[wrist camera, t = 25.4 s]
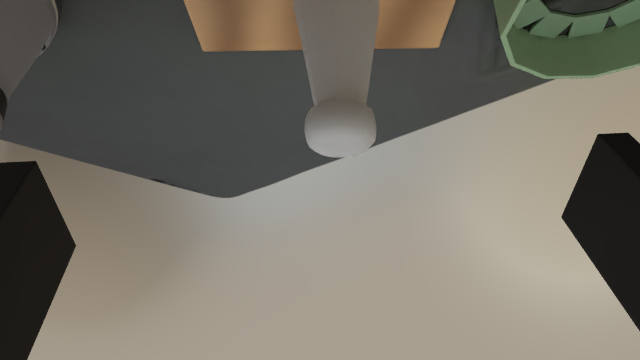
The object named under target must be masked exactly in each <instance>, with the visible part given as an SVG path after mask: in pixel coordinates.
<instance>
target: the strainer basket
mask: <svg viewBox="0 0 640 360" xmlns="http://www.w3.org/2000/svg"><path fill="white" fill-rule="evenodd" d="M494 6H495V11H496V17H497V22H498V28H499V33H500V38H501V41H502V43H503V46H504V49H505V52H506V55H507V57H508V60H509V63H510V65H511V66H514V67H516V68H519V69H521V70H523V71H526V72H528V73H531V74H533V75H536V76H538V77H540V78H543V79H563V78H594V77H599V76H602V75H606V74H610V73H614V72H618V71H622V70H626V69H629V68H633V67H637V66H640V0H628V1H626V2H623V3H621V4H619V5H617V6H615V7H612V8H610V9H607V10H601V11H596V12H590V13H584V14H578V15H572V14H567V13H562V12H557V11H552V10H549V9H548V7H547V6H546V5H545V4H544V2H543V1H542V0H494ZM609 16H610V17H611V18H612V20H613V21H614V23H615V24H616V25H614V26H611V27H608V28H604V27H605V25H606V22H607V20H608V18H609ZM537 20H538V21H537ZM535 21H537V22H536V23H535V24H534V25H532V26H531V27H530V28H529V29H528V30H525V29H523V28H522V27H524V26H526V25H528V24H531V23H533V22H535ZM570 24H571V25H570ZM569 25H570V28H569V31H568V34H567V35H559V34H560V33H561V32H562V31H563V30H564V29H565V28H567V27H568V26H569Z"/></svg>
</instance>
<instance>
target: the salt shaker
mask: <svg viewBox="0 0 640 360" xmlns="http://www.w3.org/2000/svg"><path fill="white" fill-rule="evenodd" d="M293 8H294V12H295V17H296V21H297V25H298V30H299V34H300V39H301V43H302V47H303V52H304V57H305V62H306V67H307V72H308V77H309V82H310V87H311V92H312V97H313V102H314V107H312V108H311V109H310V110H309V112H308V114H307V116H306V119H305V129H304V131H305V136H306V140H307V143H308V145H309V147H310V148H311V149H313V150H314V151H315V152H317V153H319V154H321V155H324V156H329V157H349V156H355V155H358V154H360V153H363V152H365V151H366V150H367V149H368V148H369V147H370V146H371V145H372V144H373V143H374V142H375V139H376V123H375V116H374V113H373V111H372V109H371V108H370V107H368V106H367V105H366V102H367V95H368V88H369V81H370V74H371V67H372V60H373V53H374V45H375V38H376V31H377V24H378V17H379V10H380V5H379V0H294V2H293Z"/></svg>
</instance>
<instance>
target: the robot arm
mask: <svg viewBox="0 0 640 360" xmlns="http://www.w3.org/2000/svg"><path fill="white" fill-rule="evenodd" d="M60 14H61V0H0V133H1V129H2V125H3V120H4V117H5V113H6V109H7V105H8V101H9V98H10V96H11V94H12V93H13V91H14V90H15V89H16V87H17V86H18V84H19V83H20V81H21V80H22V79H23V77H24V76H25V74H26V73H27V71H28V70H29V69H30V67H31V66H32V64H33V62H34V61H35V59H36V58H37V57H38V56H40V55H41V54H42V53H43V52H44V51H45V50H46V49H47V47H48V46H49V45H50V43H51V41H52V39H53V37H54V36H55V34H56V31H57V27H58V23H59V18H60ZM562 219H563V220H564V222H565V223H566V225H567V226H568V227H569V229H570V230H571V232H572V233H573V235H574V236H575V238H576V239H577V241H578V242H579V243H580V245H581V246H582V248H583V249H584V251H585V252H586V253H587V255H588V257H589V258H590V259H591V261H592V262H593V264H594V265H595V267H596V268H597V270H598V271H599V273H600V274H601V275H602V277H603V278H604V280H605V281H606V283H607V284H608V286H609V287H610V289H611V290H612V291H613V293H614V294H615V296H616V297H617V299H618V300H619V302H620V303H621V305H622V306H623V307H624V309H625V310H626V312H627V313H628V315H629V316H630V318H631V319H632V321H633V322H634V323H635V325H636V326H637V328H638V329H639V331H640V144H639V142H637V141H636V140H635V139H634V138H633V137H632V136H631V135H630V134H629V133H613V134H598V135H597V137H596V140H595V142H594V144H593V146H592V149H591V151H590V153H589V156H588V158H587V160H586V162H585V165H584V167H583V170H582V171H581V174H580V176H579V178H578V181H577V183H576V185H575V187H574V190H573V192H572V194H571V196H570V199H569V201H568V203H567V206H566V208H565V210H564V212H563V215H562ZM75 247H76V245H75V243H74V240H73V238H72V236H71V234H70V232H69V230H68V228H67V226H66V224H65V222H64V219H63V217H62V215H61V213H60V211H59V209H58V207H57V204H56V202H55V200H54V198H53V196H52V194H51V192H50V190H49V188H48V186H47V183H46V181H45V179H44V177H43V175H42V173H41V171H40V169H39V166H38V164H37V163H36V161H28V162H7V163H0V360H27V359H28V356H29V354H30V352H31V349H32V347H33V345H34V342H35V340H36V338H37V335H38V333H39V331H40V328H41V326H42V324H43V321H44V319H45V317H46V314H47V312H48V309H49V307H50V305H51V303H52V300H53V298H54V296H55V293H56V291H57V289H58V286H59V284H60V282H61V279H62V277H63V275H64V272H65V270H66V268H67V266H68V263H69V261H70V258H71V256H72V254H73V251H74V249H75Z"/></svg>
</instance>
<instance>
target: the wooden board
mask: <svg viewBox="0 0 640 360" xmlns="http://www.w3.org/2000/svg"><path fill="white" fill-rule="evenodd" d="M455 1H456V0H379V5H380V10H379V17H378V24H377V31H376V38H375V45H374V49H395V48H438V47H439V45H440V42H441V39H442V36H443V34H444V31H445V28H446V26H447V23H448V20H449V17H450V15H451V12H452V9H453V7H454V4H455ZM293 2H294V0H184V3H185V5H186V8H187V11H188V13H189V16H190V18H191V21H192V24H193V26H194V29H195V31H196V34H197V37H198V39H199V42H200V44H201V47H202V50H203V51H261V50H303V47H302V43H301V39H300V34H299V30H298V25H297V21H296V17H295V12H294V8H293Z"/></svg>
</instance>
